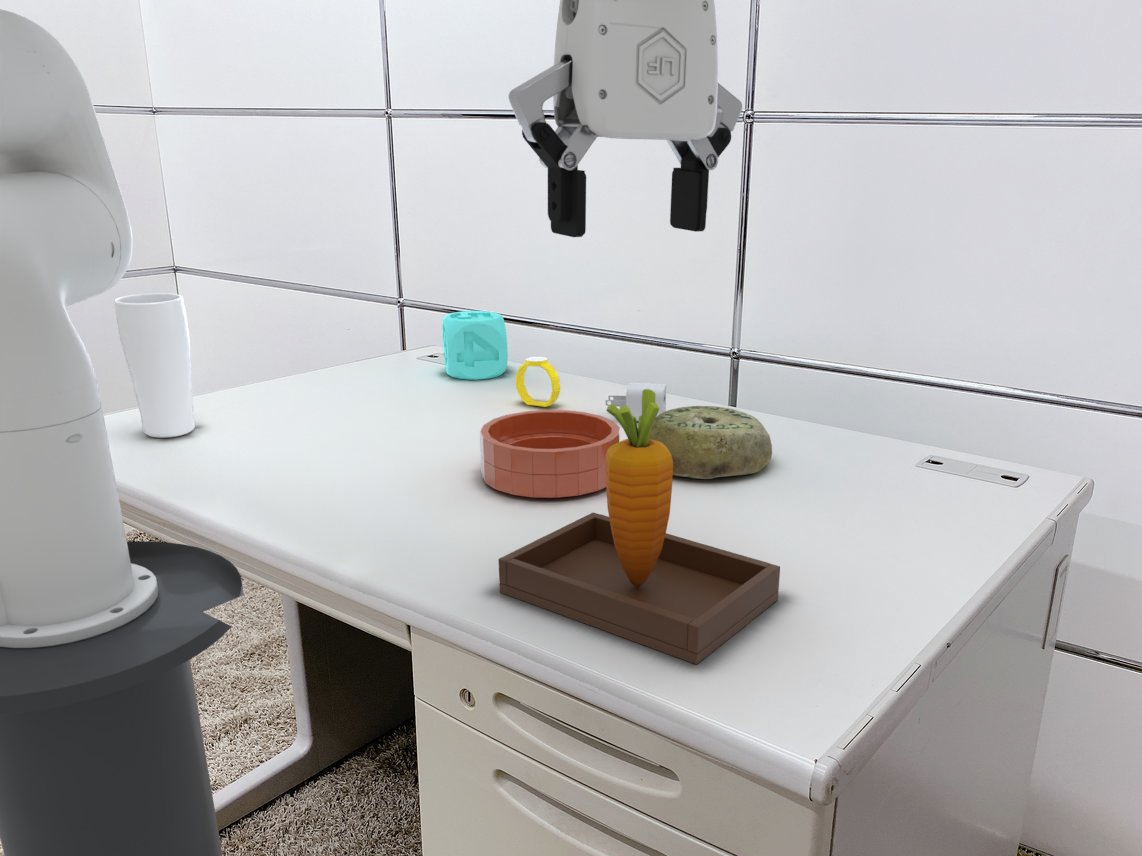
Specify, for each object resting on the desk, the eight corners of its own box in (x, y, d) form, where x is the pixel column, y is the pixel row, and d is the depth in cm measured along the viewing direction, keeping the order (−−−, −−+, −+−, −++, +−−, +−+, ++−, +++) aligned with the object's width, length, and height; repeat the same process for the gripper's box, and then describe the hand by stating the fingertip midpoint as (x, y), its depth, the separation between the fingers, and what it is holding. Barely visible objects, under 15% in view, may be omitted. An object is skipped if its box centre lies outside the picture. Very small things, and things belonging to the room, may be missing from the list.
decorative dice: (508, 378, 134) (506, 320, 131) (449, 381, 132) (446, 322, 129) (500, 364, 141) (498, 309, 139) (444, 367, 139) (440, 311, 136)
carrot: (626, 607, 70) (628, 406, 65) (592, 581, 74) (591, 389, 69) (683, 591, 73) (689, 397, 67) (647, 567, 77) (650, 381, 71)
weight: (778, 448, 107) (781, 404, 106) (760, 490, 95) (763, 441, 93) (659, 436, 111) (660, 394, 109) (627, 475, 98) (627, 428, 97)
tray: (499, 592, 74) (498, 558, 73) (593, 542, 83) (592, 511, 82) (696, 664, 64) (698, 627, 64) (778, 599, 73) (780, 566, 72)
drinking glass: (128, 431, 110) (104, 297, 104) (190, 419, 114) (170, 290, 109) (148, 445, 105) (124, 306, 100) (212, 433, 109) (192, 299, 104)
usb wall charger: (662, 424, 115) (663, 391, 114) (604, 421, 116) (604, 388, 114) (665, 414, 119) (666, 382, 117) (609, 411, 120) (609, 380, 118)
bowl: (525, 512, 89) (524, 460, 87) (459, 470, 99) (456, 423, 97) (646, 483, 96) (646, 435, 95) (572, 447, 107) (572, 403, 105)
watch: (564, 406, 121) (564, 359, 119) (551, 411, 119) (550, 364, 117) (526, 399, 124) (525, 353, 122) (512, 404, 122) (511, 357, 120)
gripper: (545, -89, 51) (546, 244, 57) (785, -48, 61) (764, 233, 67) (480, -71, 57) (486, 230, 63) (709, -36, 66) (696, 222, 72)
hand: (629, 231), depth 65 cm, fingers open, 9 cm apart
